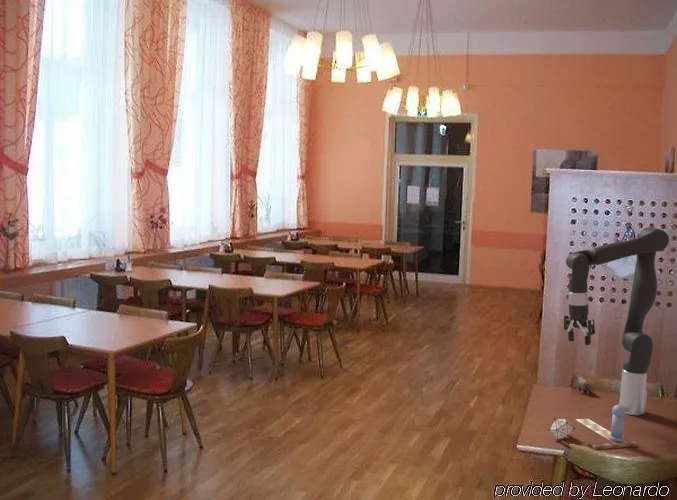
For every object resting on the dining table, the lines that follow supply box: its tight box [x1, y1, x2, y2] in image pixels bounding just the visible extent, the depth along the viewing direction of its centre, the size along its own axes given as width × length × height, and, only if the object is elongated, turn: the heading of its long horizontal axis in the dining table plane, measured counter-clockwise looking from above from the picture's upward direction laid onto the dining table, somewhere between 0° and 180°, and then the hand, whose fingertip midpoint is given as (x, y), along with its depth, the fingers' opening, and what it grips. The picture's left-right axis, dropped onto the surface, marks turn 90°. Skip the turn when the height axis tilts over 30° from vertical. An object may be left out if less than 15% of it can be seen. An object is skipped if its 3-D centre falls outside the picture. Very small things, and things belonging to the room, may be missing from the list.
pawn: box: [609, 404, 627, 442], centre depth 260 cm, size 5×5×13 cm
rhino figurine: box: [575, 375, 591, 396], centre depth 320 cm, size 4×14×6 cm, turn 179°
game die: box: [547, 416, 576, 442], centre depth 260 cm, size 9×8×10 cm
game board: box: [575, 418, 639, 450], centre depth 268 cm, size 18×26×1 cm
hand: (579, 343), depth 289 cm, fingers open, 8 cm apart
